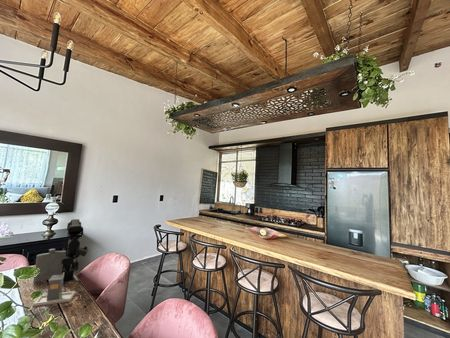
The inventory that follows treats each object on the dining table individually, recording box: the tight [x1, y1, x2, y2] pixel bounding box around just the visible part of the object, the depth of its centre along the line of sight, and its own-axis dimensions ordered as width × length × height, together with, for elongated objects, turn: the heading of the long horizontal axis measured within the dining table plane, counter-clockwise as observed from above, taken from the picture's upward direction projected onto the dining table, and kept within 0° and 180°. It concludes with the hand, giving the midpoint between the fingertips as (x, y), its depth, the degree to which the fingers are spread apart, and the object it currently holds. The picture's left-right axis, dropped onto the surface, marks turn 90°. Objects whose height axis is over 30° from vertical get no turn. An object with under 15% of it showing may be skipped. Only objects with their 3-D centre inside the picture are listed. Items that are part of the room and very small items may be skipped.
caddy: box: [46, 273, 64, 301], centre depth 118 cm, size 5×6×12 cm
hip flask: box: [32, 248, 67, 284], centre depth 142 cm, size 16×4×20 cm, turn 137°
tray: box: [33, 290, 76, 307], centre depth 118 cm, size 9×17×2 cm, turn 113°
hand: (70, 269), depth 131 cm, fingers open, 9 cm apart
